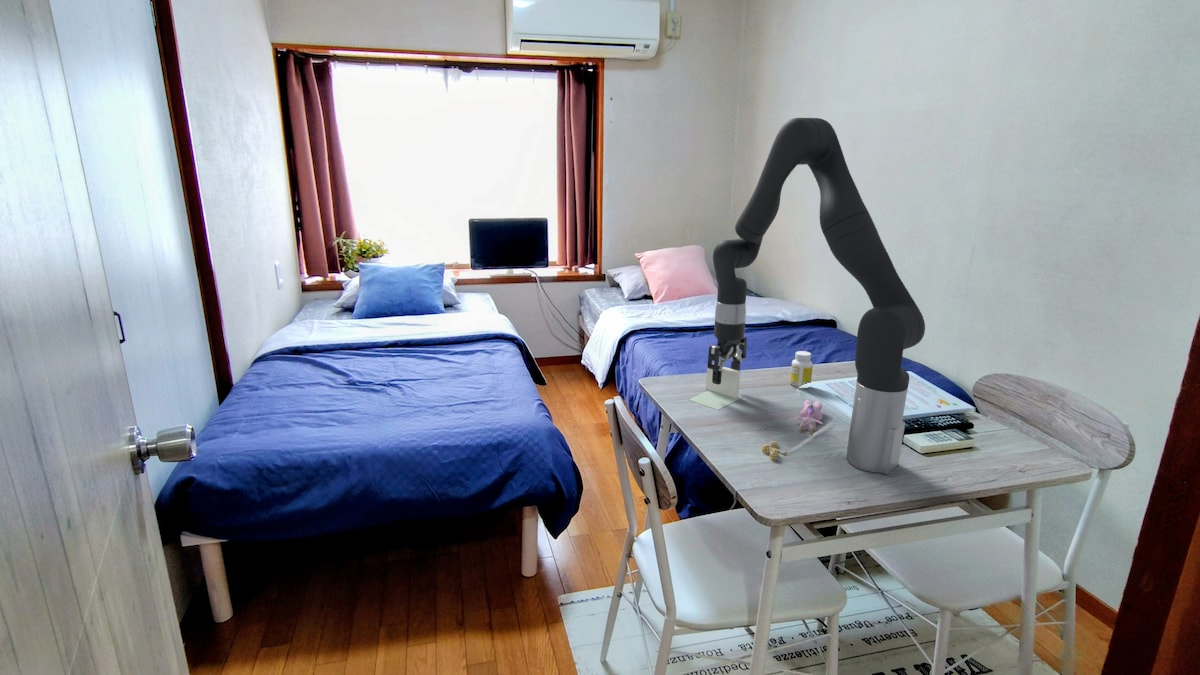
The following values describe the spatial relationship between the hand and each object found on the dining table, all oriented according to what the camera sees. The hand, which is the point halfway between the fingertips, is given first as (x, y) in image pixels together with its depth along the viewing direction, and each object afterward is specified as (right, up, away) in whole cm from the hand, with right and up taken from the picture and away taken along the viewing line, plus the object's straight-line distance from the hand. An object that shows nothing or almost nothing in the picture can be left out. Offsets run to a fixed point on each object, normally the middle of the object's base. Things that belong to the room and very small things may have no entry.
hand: (725, 379), depth 156 cm
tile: (+3, -1, -2) cm, 4 cm away
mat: (+1, -5, -2) cm, 6 cm away
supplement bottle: (+22, -3, +8) cm, 23 cm away
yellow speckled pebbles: (+4, -14, -28) cm, 32 cm away
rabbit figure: (+17, -10, -14) cm, 24 cm away
